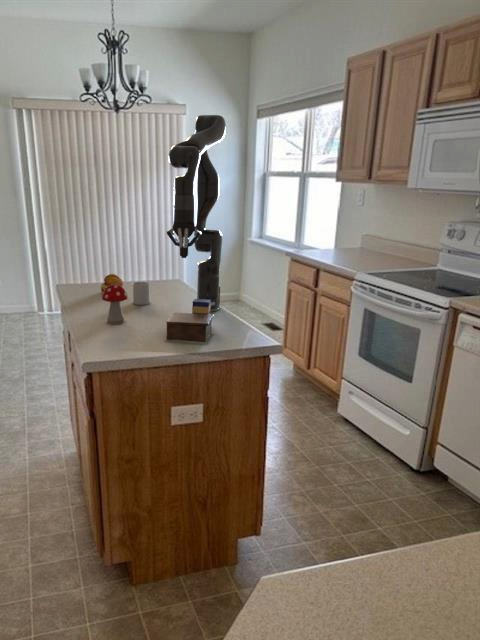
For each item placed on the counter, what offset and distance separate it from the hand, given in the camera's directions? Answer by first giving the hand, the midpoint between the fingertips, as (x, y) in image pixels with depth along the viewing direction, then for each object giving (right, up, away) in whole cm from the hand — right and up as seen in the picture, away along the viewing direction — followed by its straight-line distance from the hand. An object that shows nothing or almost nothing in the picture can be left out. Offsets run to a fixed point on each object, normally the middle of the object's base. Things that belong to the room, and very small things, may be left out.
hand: (183, 257), depth 194 cm
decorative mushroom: (-27, -22, +14) cm, 38 cm away
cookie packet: (+6, -25, +8) cm, 27 cm away
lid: (+3, -23, -5) cm, 24 cm away
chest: (+2, -30, -3) cm, 30 cm away
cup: (-20, -10, +45) cm, 51 cm away
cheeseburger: (-36, -2, +63) cm, 72 cm away
